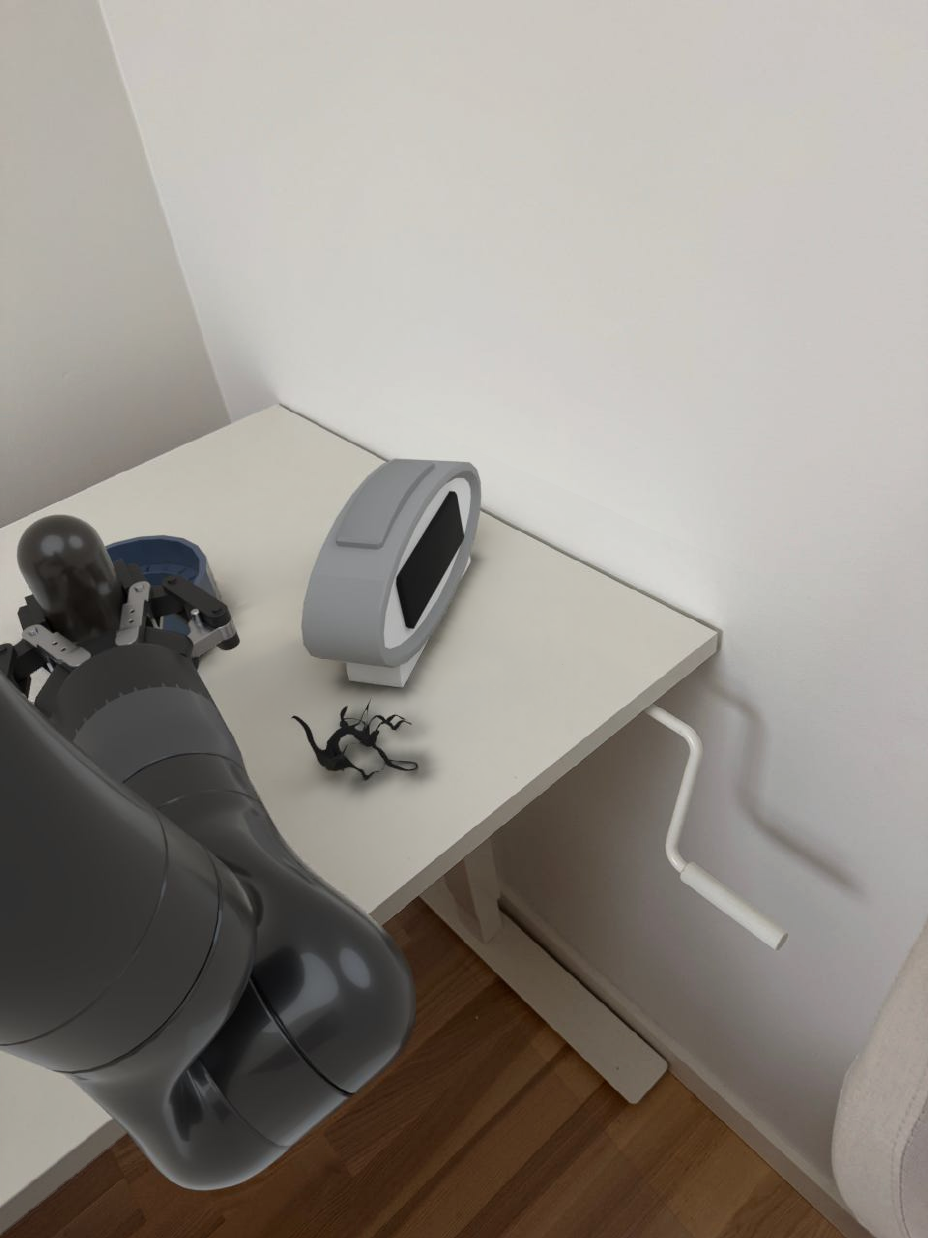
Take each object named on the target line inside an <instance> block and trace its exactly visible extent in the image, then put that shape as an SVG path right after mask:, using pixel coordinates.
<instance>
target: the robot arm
mask: <svg viewBox="0 0 928 1238" xmlns="http://www.w3.org/2000/svg"><path fill="white" fill-rule="evenodd" d="M112 563H113V565H114V567H115V570H116V572H117V574H118V576H119V578H120V581H121V584H122V586H123V588H124V590H125V593H126V595H127V597H128V600H127V603H126V604H123V606H122V613H121V620H120V625H119V626H117V627H115V628H112V629H111V630H109V631H107V632H105V633H104V634H102V635H100V636H98V637H95V638H91V639H87V640H84V641H81V642H79V643H77V644H74V643H72V642H71V641H70V640H68V639H67V638H65V637H64V636H62V635H61V634H60V633H58V632H55V633H53V631H52V629H51V627H50V625H49V623H48V622H47V620H46V618H45V616H44V614H43V613H42V611H41V609H40V607H39V605H38V603H37V601H36V599H35V598H34V596H33V594H32V593H31V594H29V595H26V596H24V600H25V603H26V604H25V605H23V606H19V608H18V610H17V616H18V620H19V624H20V626H21V629H22V633H21V637H22V638H21V639H20V640H19V641H18V642H17V643H16V644H14V645H13V644H12V643H9V642H7V643H2V644H0V1051H1V1052H3V1053H6V1054H8V1055H11V1056H13V1057H15V1058H18V1059H21V1060H24V1061H26V1062H29V1063H31V1064H33V1065H36V1066H39V1067H42V1068H45V1069H47V1070H50V1071H53V1072H55V1073H57V1074H61V1075H64V1076H65V1077H66V1078H67V1079H69V1080H70V1081H71V1082H73V1083H74V1084H75V1085H76V1086H77V1087H78V1088H80V1089H81V1090H82V1091H83V1092H84V1093H85V1094H86V1095H87V1096H88V1097H89V1098H90V1099H92V1101H93V1102H94V1103H96V1104H97V1105H98V1106H99V1107H100V1108H101V1109H102V1110H104V1112H105V1113H106V1114H108V1116H110V1117H111V1118H112V1119H113V1120H114V1121H115V1122H116V1123H117V1124H118V1125H119V1127H121V1128H122V1130H124V1131H125V1132H126V1133H127V1135H128V1136H129V1138H130V1139H131V1140H132V1141H133V1143H134V1144H135V1145H136V1146H137V1148H138V1149H139V1150H140V1151H141V1153H142V1154H143V1155H144V1156H145V1157H146V1158H147V1160H148V1162H150V1163H151V1165H153V1166H154V1168H155V1169H156V1170H157V1171H158V1172H159V1173H161V1174H162V1175H163V1176H164V1177H165V1178H166V1179H167V1180H168V1181H170V1182H172V1183H173V1184H176V1185H178V1186H180V1187H181V1188H183V1189H187V1190H194V1191H212V1190H213V1191H214V1190H219V1189H225V1188H229V1187H230V1188H231V1187H232V1186H235V1185H239V1184H241V1183H243V1182H246V1181H248V1180H251V1179H252V1178H254V1177H255V1176H257V1175H258V1174H260V1173H261V1172H264V1170H266V1169H267V1168H269V1167H270V1166H272V1164H273V1163H275V1162H276V1161H277V1160H278V1159H279V1158H281V1157H282V1156H284V1154H285V1153H287V1152H289V1151H290V1149H292V1148H293V1147H294V1146H295V1145H296V1144H297V1143H299V1142H300V1141H301V1140H302V1139H304V1138H305V1137H306V1136H307V1135H308V1134H309V1133H310V1132H312V1131H313V1130H314V1129H315V1128H316V1127H318V1126H319V1125H320V1124H322V1123H323V1122H324V1121H326V1120H327V1118H329V1117H330V1116H331V1115H332V1114H333V1113H335V1112H336V1111H337V1110H339V1109H340V1108H341V1107H343V1105H344V1104H345V1103H347V1102H348V1101H349V1100H351V1098H353V1097H354V1095H355V1094H356V1093H359V1092H360V1091H361V1090H363V1089H364V1088H365V1087H366V1086H368V1085H369V1084H370V1083H371V1082H372V1081H374V1080H375V1079H376V1078H377V1077H379V1076H380V1075H381V1074H382V1073H383V1072H385V1070H387V1069H388V1068H389V1067H390V1066H391V1065H393V1064H394V1063H395V1061H396V1060H397V1059H398V1058H399V1057H400V1056H401V1055H402V1054H403V1052H404V1051H405V1049H406V1048H407V1046H408V1044H409V1043H410V1040H411V1039H412V1036H413V1033H414V1030H415V1026H416V1021H417V1012H418V1004H417V1002H418V1001H417V989H416V984H415V980H414V974H413V972H412V969H411V966H410V964H409V961H408V960H407V957H406V956H405V954H404V953H403V951H402V949H401V948H400V946H399V944H397V942H396V941H395V939H393V937H392V936H391V935H390V934H389V932H387V930H386V929H385V928H384V927H383V926H382V925H381V924H380V923H379V922H378V921H377V920H376V919H375V918H374V917H372V916H371V915H370V914H369V913H368V912H367V911H365V910H364V909H363V908H362V907H361V906H359V905H358V904H357V903H355V902H354V901H353V900H352V899H351V898H349V897H348V896H347V895H345V893H343V892H342V891H340V890H339V889H337V888H336V887H335V886H334V885H332V884H331V883H330V882H328V881H327V880H326V879H325V878H323V877H322V876H321V875H320V874H319V873H318V872H317V871H316V870H315V869H313V868H312V867H311V866H310V865H309V864H308V863H307V862H306V861H305V860H303V859H302V858H301V856H299V854H298V853H297V852H296V851H295V850H294V848H292V846H291V845H290V843H288V841H287V840H286V838H285V837H284V835H282V833H281V832H280V830H279V829H278V827H277V826H276V823H275V822H274V820H273V818H272V817H271V814H270V813H269V811H268V809H267V808H266V806H265V804H264V802H263V800H262V798H261V797H260V795H259V792H258V791H257V789H256V787H255V785H254V783H253V782H252V780H251V778H250V776H249V774H248V771H247V767H246V764H245V760H244V758H243V754H242V752H241V750H240V747H239V746H238V743H237V741H236V738H235V736H234V735H233V733H232V731H231V730H230V728H229V726H228V724H227V723H226V721H225V719H224V717H223V715H222V714H221V711H220V710H219V708H218V706H217V704H216V702H215V701H214V699H213V697H212V695H211V694H210V692H209V690H208V688H207V686H206V685H205V683H204V681H203V679H202V677H201V675H200V673H199V671H198V670H199V667H200V661H201V660H200V657H201V656H202V655H203V654H205V653H206V652H209V650H212V649H213V648H214V647H217V648H219V649H220V650H221V651H231V650H234V649H235V648H237V647H238V646H239V645H240V643H241V638H240V636H239V634H238V630H237V628H236V626H235V623H234V620H233V618H232V615H231V612H230V610H229V608H228V607H229V606H228V605H227V604H226V603H225V602H224V601H223V602H221V601H219V600H218V599H216V598H215V597H213V596H212V595H210V594H209V593H207V592H206V591H204V590H202V589H201V588H199V587H198V586H196V585H195V584H193V583H192V582H190V581H189V580H187V579H185V578H184V577H182V576H181V575H178V574H174V575H170V576H168V577H166V578H165V579H164V580H163V581H162V585H150V584H149V583H148V582H147V580H146V578H145V576H144V574H143V573H142V571H141V569H140V567H139V565H138V564H135V563H130V564H128V565H125V564H124V562H123V560H122V559H120V560H117V561H115V562H112ZM172 614H175V617H176V618H177V619H179V620H180V621H182V622H183V623H184V624H186V625H187V626H189V628H190V630H191V632H190V634H189V635H188V636H187V635H184V634H182V633H177V632H172V631H168V630H163V618H164V616H167V615H172ZM200 655H201V656H200ZM38 670H41V671H42V672H43V673H45V674H46V675H47V676H48V677H47V679H46V681H45V682H44V684H43V685H42V687H41V688H40V690H39V691H38V693H37V695H36V696H35V698H34V701H31V700H30V699H29V697H30V691H31V685H32V676H31V675H32V674H34V673H36V672H38Z"/></svg>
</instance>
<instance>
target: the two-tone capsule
mask: <svg viewBox="0 0 928 1238" xmlns="http://www.w3.org/2000/svg"><path fill="white" fill-rule="evenodd" d="M105 546H106V545H105V544H104V541H103V539H102V538H101V535H100V534H99V533H98V531H97V530H96V529H95V528H94V527H93V526H92V525H91V524H89V523H88V521H85V520H83V519H82V518H79V517H77V516H73V515H70V514H51V515H48V516H43V517H42V518H39V519H37V520H35V521H33V523H31V524H30V525H29V526H28V527H27V528H26V529H25V530H24V532H23V533H22V535H21V536H20V538H19V541H18V543H17V548H16V561H17V565H18V569H19V571H20V574H21V575H22V577H23V579H24V580H25V583H26V584H27V586H28V588H29V590H30V592H31V594H33V596H34V598H35V599H36V601H37V603H38V605H39V607H40V609H41V611H42V613H43V614H44V616H45V618H46V620H47V622H48V623H49V625H50V627H51V629H52V631H53V633H55V632H58V633H60V634H61V635H62V636H64V637H65V638H67V639H68V640H70V641H71V642H72V643H74V644H77V643H79V642H81V641H84V640H87V639H91V638H95V637H98V636H100V635H102V634H104V633H105V632H107V631H109V630H111V629H112V628H115V627H117V626H119V625H120V620H121V613H122V606H123V604H126V603H127V600H128V597H127V595H126V593H125V590H124V588H123V586H122V584H121V581H120V578H119V576H118V574H117V572H116V570H115V567H114V565H113V563H112V561H111V559H110V556H109V554H108V552H107V550H106V548H105Z"/></svg>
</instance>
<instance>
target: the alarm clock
mask: <svg viewBox="0 0 928 1238" xmlns="http://www.w3.org/2000/svg"><path fill="white" fill-rule="evenodd" d="M481 481H482V480H481V477H480V475H479V470H478V469H477V468H476V467H475V466H474V464H472V462H470V461H459V460H458V461H457V460H439V459H438V460H437V459H415V458H392V459H390V460H388V461H386V462H384V463H381V464H380V465H379V466H378V467H377V468H376V469H374V470H373V471H372V472H371V473H369V474H368V475H367V476H366V477H365V478H364V479H363V480H362V482H361V483H360V484H359V485H358V487H357V488H356V489H355V490H354V491H353V492H352V494H351V495H350V497H349V498H348V500H346V503H345V504H344V506H343V507H342V509H341V510H340V511H339V513H338V515H336V518H335V520H334V522H333V524H332V526H331V527H330V529H329V531H328V533H327V534H326V537H325V539H324V541H323V543H322V545H321V547H320V550H319V552H318V555H317V558H316V560H315V563H314V565H313V568H312V570H311V573H310V577H309V580H308V583H307V588H306V592H305V595H304V598H303V599H304V600H303V605H302V616H301V623H300V627H301V635H302V642H303V643H302V644H303V646H304V648H305V650H306V651H307V653H308V654H309V655H310V657H313V658H316V659H321V660H328V661H333V662H334V661H335V662H341V663H342V662H343V663H345V665H346V672H347V673H346V674H347V678H348V681H351V682H358V683H364V684H365V683H366V684H372V685H373V684H374V685H380V686H388V687H395V688H396V687H397V688H404V687H405V685H406V683H407V681H408V679H409V678H410V675H411V673H412V671H413V670H414V668H415V666H416V665H417V662H418V660H419V658H420V657H421V655H422V653H423V651H424V649H425V648H426V645H427V643H428V641H429V640H430V638H431V636H432V635H433V634H434V633H435V631H436V629H437V627H438V626H439V624H440V622H441V621H442V620H443V617H444V615H445V614H446V612H447V611H448V608H449V607H450V604H451V603H452V600H453V598H454V596H455V594H456V592H457V590H458V587H459V585H460V583H461V581H462V579H463V576H464V575H465V573H466V571H467V570H468V567H469V565H470V563H471V561H472V559H471V551H472V549H473V545H474V543H475V539H476V533H477V529H478V525H479V521H480V514H481V505H482V482H481Z"/></svg>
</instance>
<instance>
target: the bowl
mask: <svg viewBox="0 0 928 1238" xmlns="http://www.w3.org/2000/svg"><path fill="white" fill-rule="evenodd" d="M105 548H106V550H107V552H108V554H109V556H110V559H111V561H112V562H115V561H117V560H120V559H122V560H123V562H124V564H125V565H128V564H130V563H135V564H138V565H139V567H140V569H141V571H142V573H143V574H144V576H145V578H146V580H147V582H148V583H149V584H150V585H162V581H163V580H164V579H165V578H166V577H168V576H170V575H174V574H178V575H181V576H182V577H184V578H185V579H187V580H189V581H190V582H192V583H193V584H195V585H196V586H198V587H199V588H201V589H202V590H204V591H206V592H207V593H209V594H210V595H212V596H213V597H215V598H216V599H218V600H219V601H221V602H223V603H224V600H223V597H222V595H221V592H220V590H219V588H218V584H217V582H216V580H215V576H214V574H213V571H212V568H211V566H210V564H209V561H208V558H207V556H206V555H205V553H204V552H203V550H202V549H201V547H200V546H199V545H198V544H196V543H194V542H193V541H190V540H188V539H186V538H185V537H179V536H173V535H166V534H158V535H157V534H156V535H142V536H141V535H140V536H135V537H132V538H127V539H124V540H119V541H115V542H112V543H110V544H107V545H105ZM163 630H168V631H172V632H177V633H182V634H184V635H187V636H188V635H189V634H190V632H191V630H190V628H189V626H187V625H186V624H184V623H183V622H182V621H180V620H179V619H177V618H176V617H175V614H172V615H167V616H164V618H163ZM201 656H202V655H200V656H199V657H201Z"/></svg>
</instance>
